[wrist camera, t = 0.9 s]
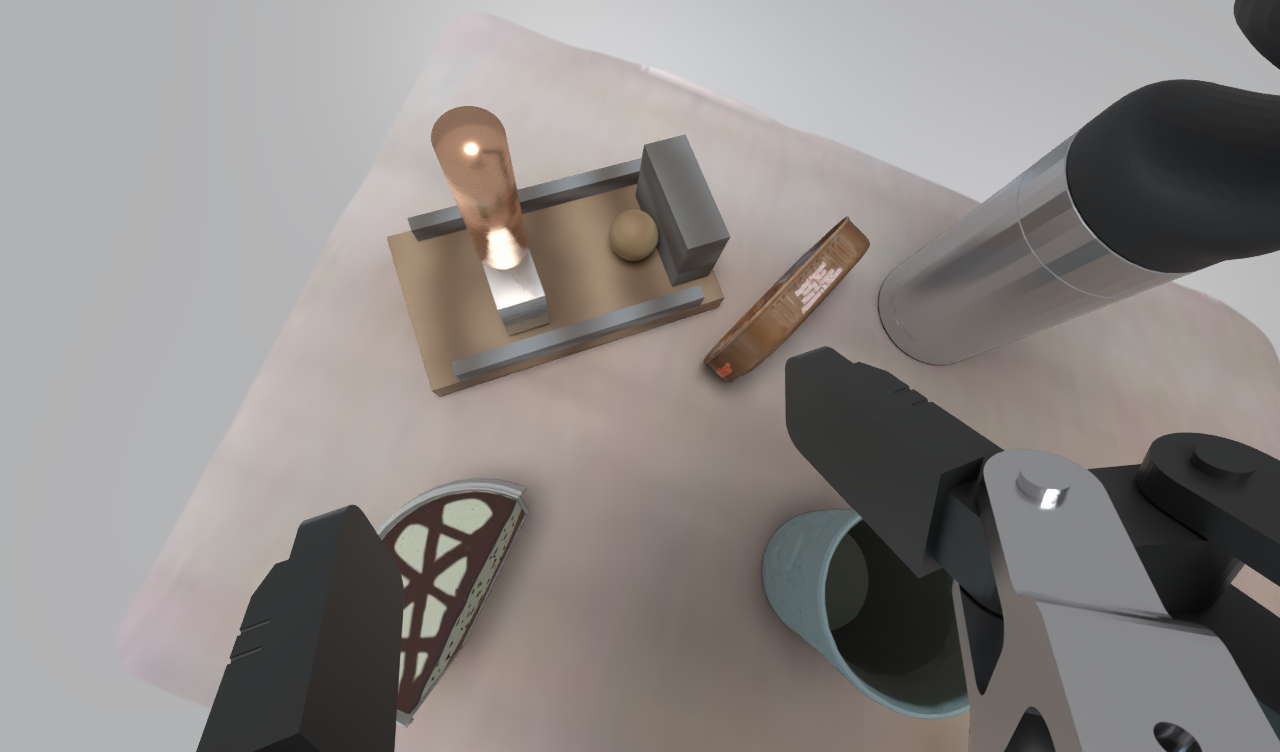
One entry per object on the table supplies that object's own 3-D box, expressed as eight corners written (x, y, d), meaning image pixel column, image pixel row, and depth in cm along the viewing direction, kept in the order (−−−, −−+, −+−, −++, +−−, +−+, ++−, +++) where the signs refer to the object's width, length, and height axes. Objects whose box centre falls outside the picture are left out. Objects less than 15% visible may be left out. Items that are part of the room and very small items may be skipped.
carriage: (517, 225, 39) (478, 56, 24) (551, 322, 37) (532, 205, 23) (474, 236, 38) (408, 71, 24) (507, 336, 36) (458, 224, 22)
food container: (458, 454, 37) (414, 437, 27) (538, 491, 37) (523, 486, 27) (363, 632, 33) (274, 683, 24) (451, 672, 33) (397, 740, 24)
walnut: (645, 220, 40) (651, 193, 37) (661, 261, 40) (669, 238, 36) (601, 232, 40) (603, 206, 36) (617, 274, 39) (620, 252, 35)
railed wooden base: (663, 178, 44) (681, 108, 36) (717, 307, 41) (748, 261, 34) (396, 250, 40) (351, 188, 32) (439, 396, 37) (402, 368, 30)
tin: (809, 248, 44) (862, 190, 35) (837, 273, 43) (897, 221, 35) (689, 371, 40) (718, 337, 32) (720, 400, 40) (756, 373, 32)
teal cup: (905, 620, 37) (1052, 672, 26) (778, 676, 35) (874, 759, 24) (848, 482, 39) (961, 473, 28) (725, 528, 37) (790, 539, 26)
